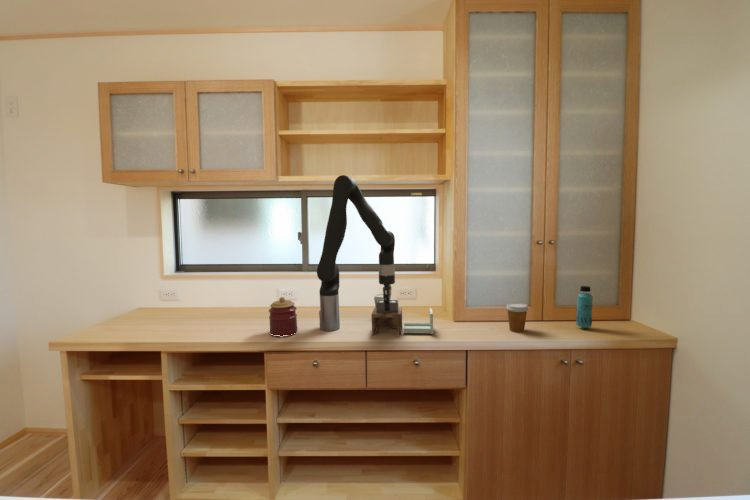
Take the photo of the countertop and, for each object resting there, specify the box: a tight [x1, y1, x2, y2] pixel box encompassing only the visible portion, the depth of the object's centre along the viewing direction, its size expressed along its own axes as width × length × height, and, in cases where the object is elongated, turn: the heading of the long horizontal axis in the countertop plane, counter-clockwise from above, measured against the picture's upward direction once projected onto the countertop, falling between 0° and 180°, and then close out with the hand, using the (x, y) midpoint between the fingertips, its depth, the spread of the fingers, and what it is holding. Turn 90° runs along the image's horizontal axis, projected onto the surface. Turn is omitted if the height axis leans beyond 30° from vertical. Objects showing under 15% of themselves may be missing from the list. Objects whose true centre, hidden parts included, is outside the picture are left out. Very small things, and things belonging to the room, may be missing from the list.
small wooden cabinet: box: [371, 307, 403, 337], centre depth 179 cm, size 14×12×10 cm
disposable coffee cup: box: [506, 302, 529, 333], centre depth 175 cm, size 10×10×12 cm
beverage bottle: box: [575, 285, 594, 328], centre depth 174 cm, size 6×7×20 cm
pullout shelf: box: [403, 307, 434, 335], centre depth 177 cm, size 14×10×9 cm
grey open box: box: [375, 299, 400, 312], centre depth 178 cm, size 10×6×4 cm, turn 84°
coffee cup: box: [373, 293, 386, 308], centre depth 203 cm, size 8×8×12 cm
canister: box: [268, 296, 298, 336], centre depth 180 cm, size 13×13×18 cm
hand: (387, 308), depth 178 cm, fingers closed on grey open box, 5 cm apart
